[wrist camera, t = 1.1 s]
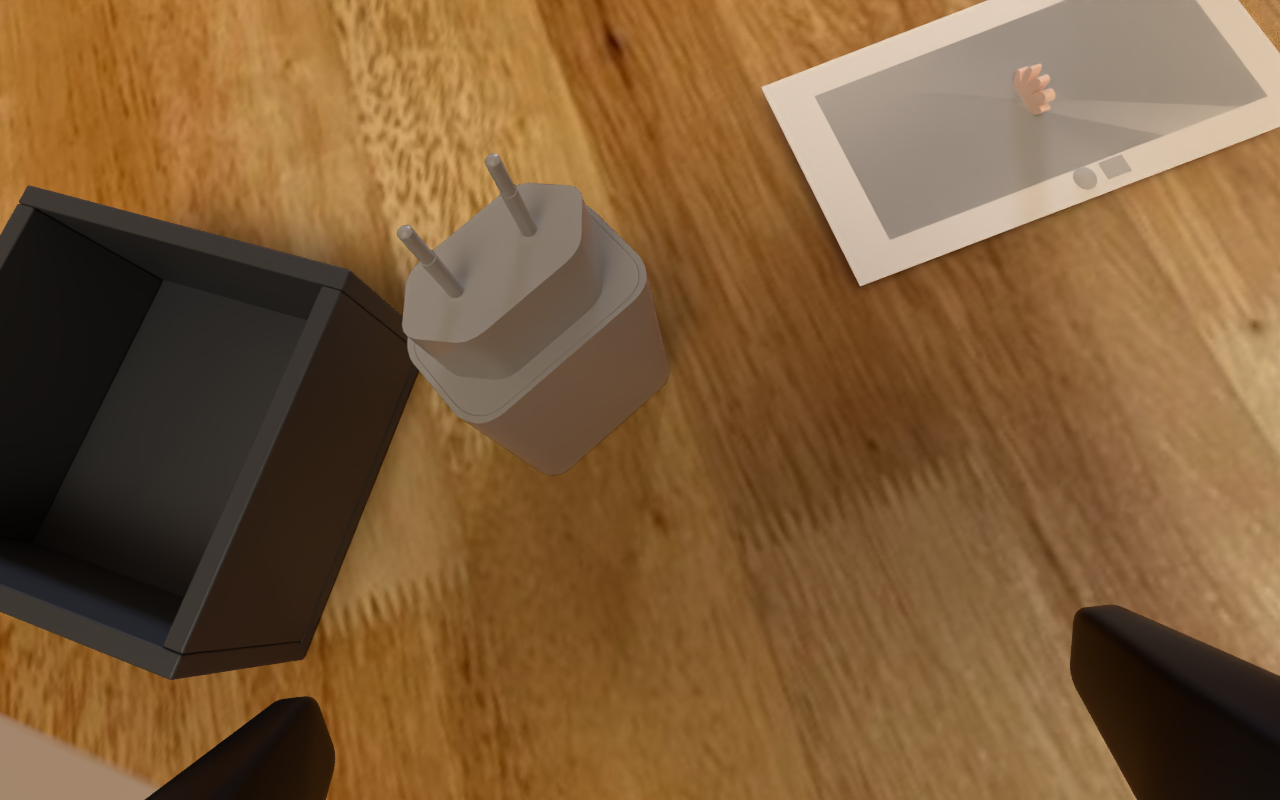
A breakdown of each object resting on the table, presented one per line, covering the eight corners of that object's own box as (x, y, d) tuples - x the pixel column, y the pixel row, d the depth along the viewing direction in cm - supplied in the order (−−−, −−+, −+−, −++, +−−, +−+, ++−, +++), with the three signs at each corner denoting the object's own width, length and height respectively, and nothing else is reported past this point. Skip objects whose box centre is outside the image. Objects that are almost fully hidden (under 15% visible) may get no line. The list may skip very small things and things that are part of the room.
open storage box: (303, 660, 22) (170, 681, 17) (24, 554, 24) (-175, 542, 18) (431, 340, 24) (350, 269, 19) (167, 267, 26) (27, 184, 21)
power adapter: (490, 414, 23) (263, 238, 12) (616, 307, 24) (517, 36, 12) (550, 486, 22) (369, 371, 11) (679, 372, 23) (636, 147, 11)
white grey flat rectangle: (759, 108, 25) (762, 64, 23) (1161, -46, 25) (1202, -104, 23) (853, 300, 23) (867, 271, 21) (1295, 132, 23) (1353, 86, 21)
